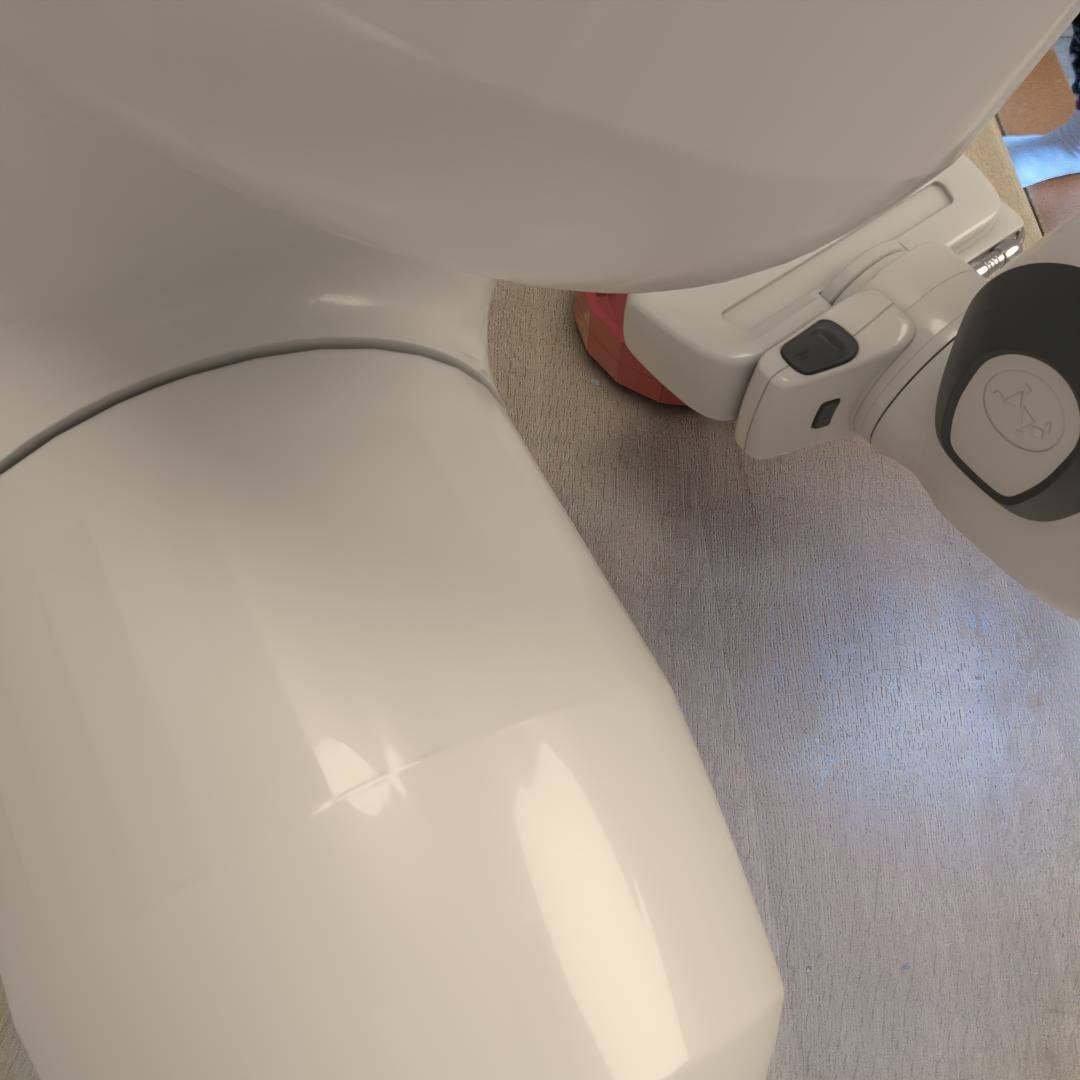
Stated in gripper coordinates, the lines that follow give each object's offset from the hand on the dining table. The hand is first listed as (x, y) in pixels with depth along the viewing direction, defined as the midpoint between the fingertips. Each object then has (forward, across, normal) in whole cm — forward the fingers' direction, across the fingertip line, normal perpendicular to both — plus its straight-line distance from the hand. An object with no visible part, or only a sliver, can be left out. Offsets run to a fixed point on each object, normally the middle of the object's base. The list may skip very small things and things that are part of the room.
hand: (709, 165), depth 54 cm
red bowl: (-1, 0, +11) cm, 11 cm away
